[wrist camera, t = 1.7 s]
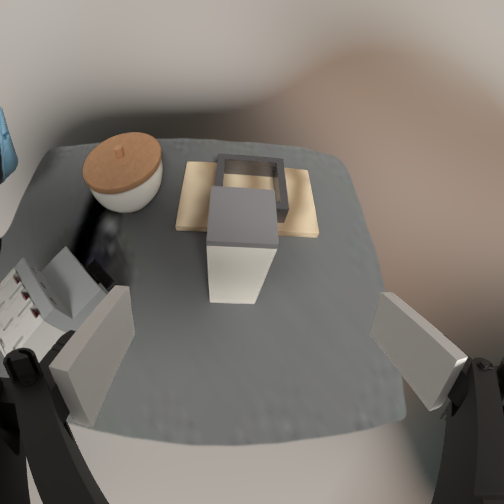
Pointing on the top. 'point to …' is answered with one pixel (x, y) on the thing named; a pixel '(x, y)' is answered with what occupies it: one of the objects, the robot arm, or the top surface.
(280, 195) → the socket collar
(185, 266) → the top surface
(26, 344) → the circuit breaker
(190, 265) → the top surface
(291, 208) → the mount board
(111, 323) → the robot arm
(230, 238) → the power strip
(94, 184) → the lidded bowl
